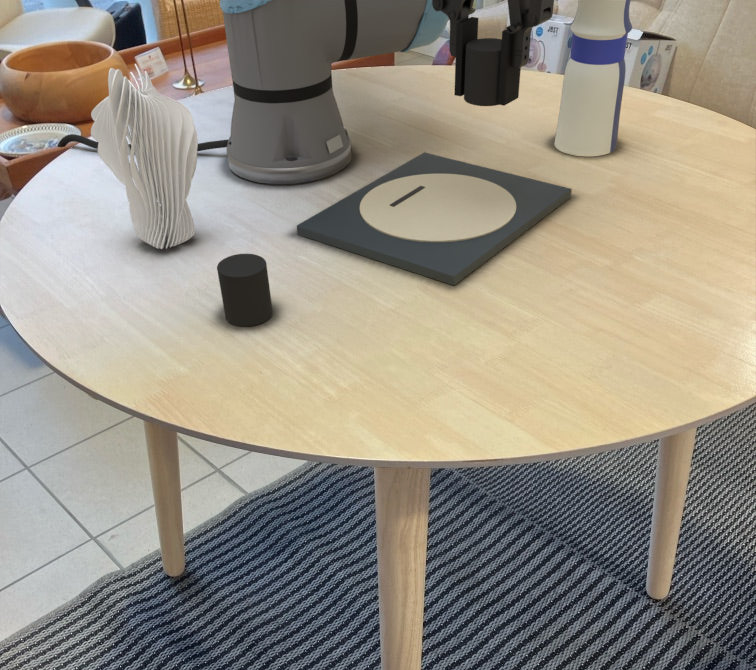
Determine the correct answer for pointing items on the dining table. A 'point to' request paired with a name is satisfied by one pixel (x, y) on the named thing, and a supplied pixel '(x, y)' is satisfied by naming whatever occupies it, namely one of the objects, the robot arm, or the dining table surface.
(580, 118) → the water bottle
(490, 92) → the stamp
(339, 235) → the board
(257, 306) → the stamp
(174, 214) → the white ribbed sculpture
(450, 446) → the dining table surface
